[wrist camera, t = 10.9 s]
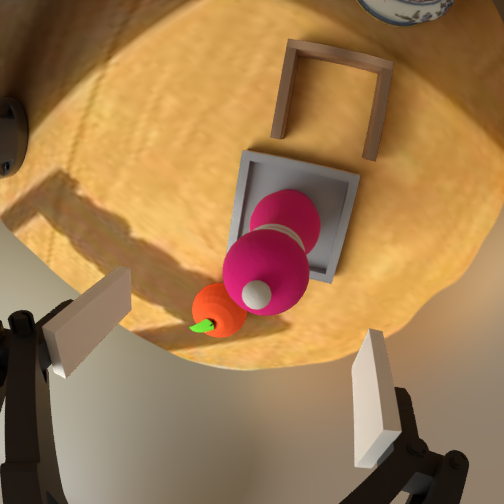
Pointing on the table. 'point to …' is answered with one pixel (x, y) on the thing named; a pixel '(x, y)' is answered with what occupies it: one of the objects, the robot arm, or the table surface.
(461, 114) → the table surface
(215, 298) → the clementine
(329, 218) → the tray
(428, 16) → the apothecary jar
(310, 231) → the pepper mill
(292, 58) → the cubby
